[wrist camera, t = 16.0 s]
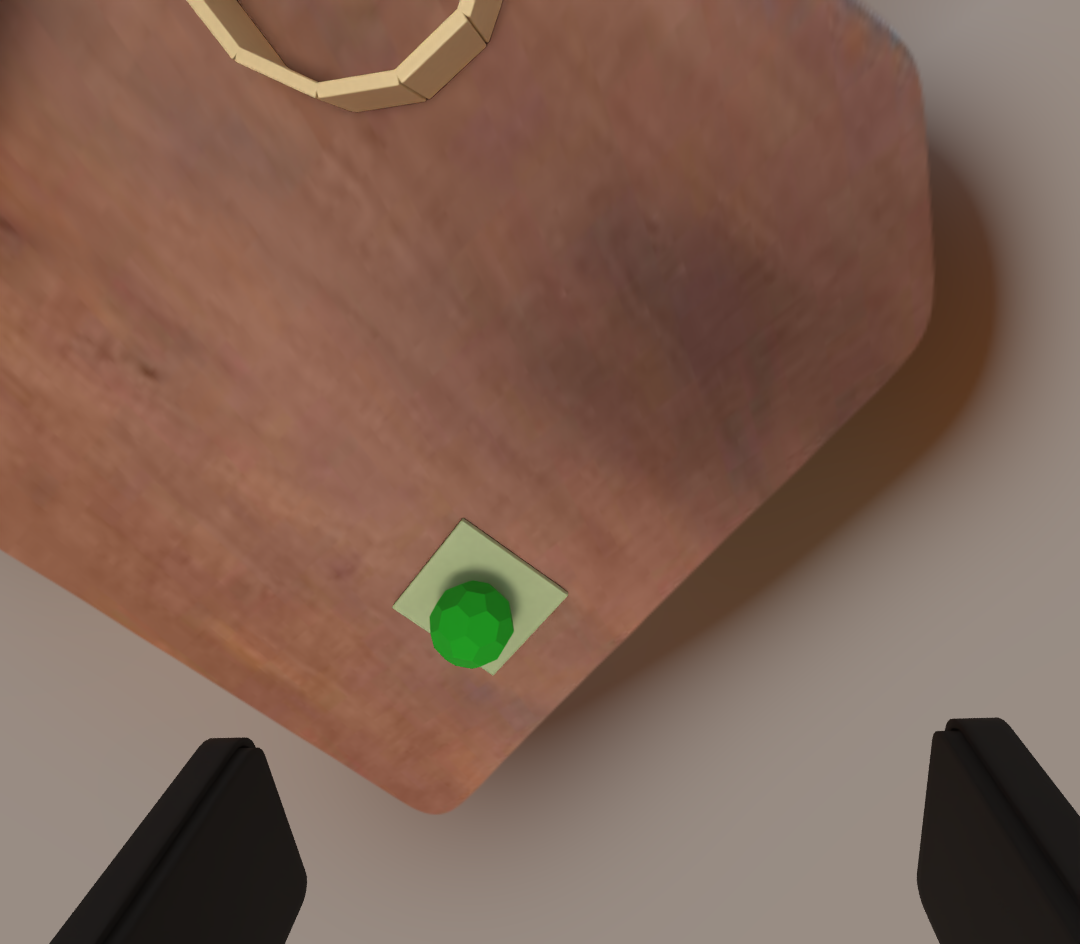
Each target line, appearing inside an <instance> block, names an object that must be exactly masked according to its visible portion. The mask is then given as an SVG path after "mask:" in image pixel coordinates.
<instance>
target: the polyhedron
mask: <svg viewBox="0 0 1080 944" xmlns="http://www.w3.org/2000/svg"><path fill="white" fill-rule="evenodd" d="M429 618H430V633H431V637H432V641H433V645H434V648H435V649H436V650H437V651H438V652H439V653H440V654H441V655H442V656H443V657H444V658H445V660H447V661H449V662H450V663H452V664H454V665H455V666H460V667H466V668H471V669H473V668H477V667H481V666H483V665H486V664H488V663H490V662H492V661H495V660H497V659H498V658H499V656H500V654H501V653H502V651H503V649H504V648H505V646H506V644H507V643H508V641H509V639H510V638H511V636H512V634H513V633H514V626H513V620H512V614H511V609H510V604H509V601H508V600H507V599H506V598H505V597H504V596H503V595H502V594H501V593H500V592H499V591H497V590H496V589H495V588H494V587H493V586H491V585H490V584H489V583H484V582H479V581H474V580H472V581H469V582H466V583H463V584H460V585H458V586H455V587H453V588H450V589H448V590H446V591H445V592H444V593H443V595H442V596H441V598H440V599H439V600H438V602H437V603H436V605H435V607H434V609H433V611H432V613H431V615H430V616H429Z"/></svg>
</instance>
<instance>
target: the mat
mask: <svg viewBox="0 0 1080 944" xmlns="http://www.w3.org/2000/svg"><path fill="white" fill-rule="evenodd" d="M472 580H474V581H479V582H484V583H489V584H490V585H491V586H493V587H494V588H495V589H496V590H497V591H499V592H500V593H501V594H502V595H503V596H504V597H505V598H506V599H507V600H508V601H509V604H510V609H511V614H512V620H513V626H514V633H513V634H512V636H511V638H510V639H509V641H508V643H507V644H506V646H505V648H504V649H503V651H502V653H501V654H500V656H499V658H498V659H497V660H495V661H492V662H490V663H488V664H486V665H483V666H481V668H483V669H484V670H486V671H487V672H489V673H490V674H492V675H494V674H495V673H496V672H497V671H498V670H499V669H500V668H501V667H502V665H503V664H504V663H505V662H506V661H507V660H508V659H509V658H510V657H511V656H512V655H513V654H514V653H515V652H516V651H517V649H518V648H519V647H520V646H521V645H522V644H523V643H524V642H525V641H526V640H527V639H528V638H529V637H530V636H531V634H532V633H533V632H534V631H535V630H536V629H537V628H538V627H539V626H540V625H541V624H542V623H543V622H544V621H545V620H546V618H547V617H548V616H549V615H550V614H551V613H552V612H553V611H554V610H555V609H556V608H557V607H558V606H559V605H560V603H561V602H562V601H563V600H564V599H565V598H566V597H567V596H568V592H567V591H565V590H564V589H563V588H561V587H560V586H558V585H557V584H556V583H554V582H553V581H551V580H550V579H548V578H547V577H546V576H544V575H543V574H541V573H540V572H539V571H537V570H536V569H534V568H533V567H532V566H530V565H529V564H527V563H526V562H525V561H523V560H522V559H520V558H519V557H517V556H516V555H515V554H513V553H512V552H510V551H509V550H508V549H506V548H505V547H503V546H502V545H501V544H499V543H498V542H496V541H495V540H494V539H492V538H491V537H489V536H488V535H486V534H485V533H484V532H482V531H481V530H479V529H478V528H477V527H475V526H474V525H472V524H471V523H470V522H468V521H467V520H465V519H464V518H463V519H462V520H461V521H460V522H459V524H458V525H457V526H456V527H455V529H454V530H453V531H452V532H451V534H450V535H449V536H448V537H447V539H446V540H445V541H444V542H443V544H442V545H441V546H440V547H439V549H438V550H437V551H436V552H435V554H434V555H433V556H432V557H431V559H430V560H429V561H428V562H427V564H426V565H425V566H424V567H423V568H422V570H421V571H420V572H419V573H418V575H417V576H416V577H415V578H414V580H413V581H412V582H411V583H410V585H409V586H408V587H407V588H406V590H405V591H404V592H403V593H402V595H401V596H400V597H399V598H398V600H397V601H396V602H395V603H394V605H393V607H392V608H393V609H395V610H396V611H398V612H399V613H401V614H402V615H404V616H405V617H407V618H408V619H410V620H411V621H413V622H414V623H416V624H417V625H419V626H420V627H422V628H423V629H424V630H426V631H427V632H429V633H430V618H429V616H430V615H431V613H432V611H433V609H434V607H435V605H436V603H437V602H438V600H439V599H440V598H441V596H442V595H443V593H444V592H445V591H446V590H448V589H450V588H453V587H455V586H458V585H460V584H463V583H466V582H469V581H472ZM430 634H431V633H430Z"/></svg>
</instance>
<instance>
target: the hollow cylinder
mask: <svg viewBox="0 0 1080 944" xmlns="http://www.w3.org/2000/svg"><path fill="white" fill-rule="evenodd" d="M186 1H187V2H188V3H189V4H190V6H191V7H192V8H193V10H194V11H195V12H196V13H197V15H198V16H199V17H200V19H201V20H202V21H203V22H204V24H205V25H206V26H207V28H208V29H209V30H210V31H211V33H212V34H213V35H214V37H215V38H216V39H217V40H218V42H219V43H220V44H221V46H222V47H223V48H224V49H225V51H226V52H227V53H228V55H229V56H230V57H231V58H232V59H234V60H235V61H236V62H237V63H239V64H241V65H243V66H246V67H248V68H250V69H252V70H254V71H256V72H259V73H261V74H263V75H265V76H267V77H270V78H272V79H274V80H276V81H278V82H280V83H283V84H285V85H287V86H289V87H291V88H294V89H296V90H298V91H300V92H302V93H304V94H307V95H309V96H311V97H313V98H316V99H318V100H321V101H324V102H326V103H329V104H332V105H334V106H337V107H340V108H342V109H345V110H348V111H350V112H363V111H369V110H375V109H381V108H388V107H394V106H400V105H406V104H413V103H419V102H425V101H426V98H427V99H431V98H432V97H433V96H434V95H435V94H436V93H437V92H438V91H439V90H440V89H441V88H442V87H443V86H445V85H446V84H447V83H448V82H449V81H450V80H451V79H452V78H453V77H454V76H455V75H456V74H457V73H458V72H460V71H461V70H462V69H463V68H464V67H465V66H466V65H467V64H468V63H469V62H470V61H471V60H472V59H473V58H474V57H476V56H477V55H478V54H479V53H480V52H481V51H482V50H483V49H484V48H485V47H486V43H485V42H487V43H488V42H489V41H490V38H491V35H492V32H493V29H494V26H495V22H496V19H497V16H498V13H499V10H500V7H501V4H502V1H503V0H460V1H459V5H458V8H457V10H456V11H454V12H453V13H452V14H451V15H450V16H449V17H448V18H447V19H446V20H445V21H444V22H443V23H442V24H441V25H440V26H439V27H438V28H437V29H436V30H435V31H434V32H433V33H432V34H431V35H430V36H429V37H428V38H427V39H426V40H425V41H424V42H423V43H422V44H421V45H420V46H419V47H417V48H416V49H415V50H414V51H413V52H412V53H411V54H410V55H409V56H408V57H407V58H406V59H405V60H404V61H403V62H402V63H401V64H400V65H399V66H398V67H397V68H396V69H395V70H389V71H383V72H377V73H371V74H365V75H359V76H353V77H347V78H341V79H335V80H329V81H323V82H317V81H315V80H313V79H311V78H309V77H306V76H304V75H302V74H300V73H298V72H296V71H293V70H291V69H289V68H287V66H286V65H285V64H284V62H283V61H282V60H281V58H280V57H279V56H278V54H277V53H276V52H275V51H274V49H273V48H272V47H271V45H270V44H269V43H268V41H267V40H266V39H265V37H264V36H263V35H262V33H261V32H260V31H259V29H258V28H257V27H256V25H255V24H254V23H253V22H252V20H251V19H250V18H249V16H248V15H247V14H246V12H245V11H244V10H243V8H242V7H241V6H240V4H239V3H238V2H237V0H186ZM484 41H485V42H484Z"/></svg>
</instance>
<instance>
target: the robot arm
mask: <svg viewBox="0 0 1080 944" xmlns="http://www.w3.org/2000/svg"><path fill="white" fill-rule="evenodd" d="M917 884H918V890H919V895H920V898H921V902H922V904H923V907H924V910H925V912H926V914H927V916H928V919H929V921H930V923H931V925H932V927H933V930H934V932H935V934H936V936H937V939H938V940H939V943H940V944H1080V816H1079V815H1078V814H1077V813H1076V811H1075V810H1074V808H1073V807H1072V806H1071V805H1070V803H1069V802H1068V801H1067V799H1066V798H1065V797H1064V795H1063V794H1062V793H1061V792H1060V790H1059V789H1058V788H1057V787H1056V785H1055V784H1054V783H1053V781H1052V780H1051V779H1050V777H1049V776H1048V775H1047V774H1046V772H1045V771H1044V770H1043V768H1042V767H1041V766H1040V765H1039V763H1038V762H1037V761H1036V759H1035V758H1034V757H1033V756H1032V754H1031V753H1030V752H1029V750H1028V749H1027V748H1026V747H1025V745H1024V744H1023V743H1022V741H1021V740H1020V739H1019V737H1018V736H1017V735H1016V734H1015V732H1014V731H1013V730H1012V729H1011V727H1010V726H1009V725H1008V724H1007V723H1006V722H1005V721H1004V720H1002V719H1000V718H968V719H950V720H949V721H948V722H947V724H946V728H945V731H936V732H935V733H934V735H933V739H932V747H931V755H930V764H929V773H928V782H927V790H926V799H925V809H924V817H923V826H922V834H921V843H920V852H919V861H918V870H917ZM306 887H307V876H306V872H305V869H304V866H303V863H302V860H301V858H300V854H299V851H298V849H297V846H296V843H295V840H294V837H293V834H292V831H291V829H290V826H289V823H288V820H287V817H286V814H285V812H284V808H283V806H282V803H281V800H280V797H279V794H278V791H277V788H276V786H275V783H274V780H273V777H272V774H271V771H270V768H269V765H268V763H267V760H266V757H265V754H264V752H263V751H262V749H260V748H256V747H255V745H254V743H253V742H252V740H250V739H249V738H213V739H212V738H210V739H208V740H206V741H205V742H203V744H202V745H201V746H199V748H198V749H197V750H196V752H195V753H194V754H193V756H192V757H191V758H190V760H189V761H188V762H187V764H186V765H185V766H184V767H183V769H182V770H181V771H180V773H179V774H178V775H177V777H176V778H175V779H174V781H173V782H172V783H171V784H170V786H169V787H168V788H167V790H166V791H165V793H164V794H163V795H162V796H161V798H160V799H159V800H158V802H157V803H156V804H155V806H154V807H153V808H152V810H151V811H150V812H149V813H148V815H147V816H146V817H145V819H144V820H143V821H142V823H141V824H140V825H139V827H138V828H137V829H136V830H135V832H134V833H133V834H132V836H131V837H130V838H129V840H128V841H127V842H126V844H125V845H124V846H123V848H122V849H121V850H120V852H119V853H118V854H117V856H116V857H115V858H114V859H113V861H112V862H111V864H110V865H109V866H108V867H107V869H106V870H105V871H104V873H103V874H102V875H101V876H100V878H99V879H98V880H97V882H96V883H95V884H94V886H93V887H92V888H91V890H90V891H89V892H88V894H87V895H86V896H85V897H84V899H83V900H82V902H81V903H80V904H79V906H78V907H77V908H76V910H75V911H74V912H73V913H72V915H71V916H70V917H69V918H68V920H67V921H66V922H65V924H64V925H63V926H62V928H61V929H60V930H59V932H58V933H57V934H56V936H55V937H54V938H53V939H52V941H51V942H50V944H285V942H286V940H287V938H288V935H289V933H290V931H291V928H292V926H293V924H294V922H295V919H296V917H297V915H298V913H299V910H300V908H301V906H302V903H303V901H304V897H305V893H306Z"/></svg>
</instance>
